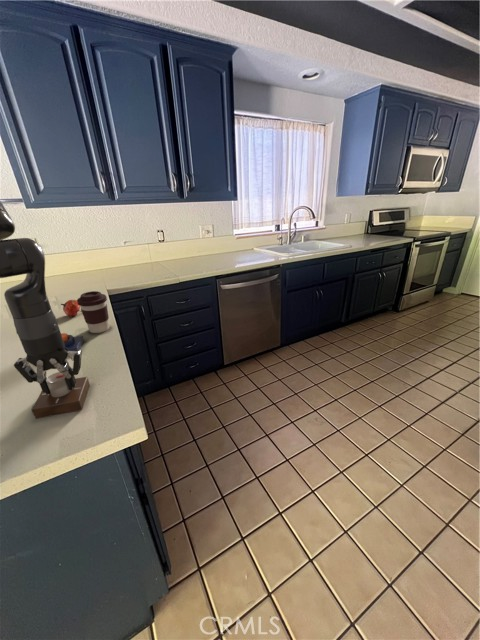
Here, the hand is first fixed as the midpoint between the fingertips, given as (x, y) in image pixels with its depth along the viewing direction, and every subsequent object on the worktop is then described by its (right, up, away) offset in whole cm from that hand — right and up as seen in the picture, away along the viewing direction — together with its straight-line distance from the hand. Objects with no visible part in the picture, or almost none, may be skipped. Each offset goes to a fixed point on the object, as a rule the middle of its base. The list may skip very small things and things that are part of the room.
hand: (60, 389), depth 67 cm
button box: (-15, +8, +25) cm, 30 cm away
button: (-15, +11, +23) cm, 30 cm away
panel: (0, -3, +2) cm, 4 cm away
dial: (0, -1, 0) cm, 1 cm away
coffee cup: (-11, +14, +38) cm, 42 cm away
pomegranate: (-29, +20, +51) cm, 62 cm away
